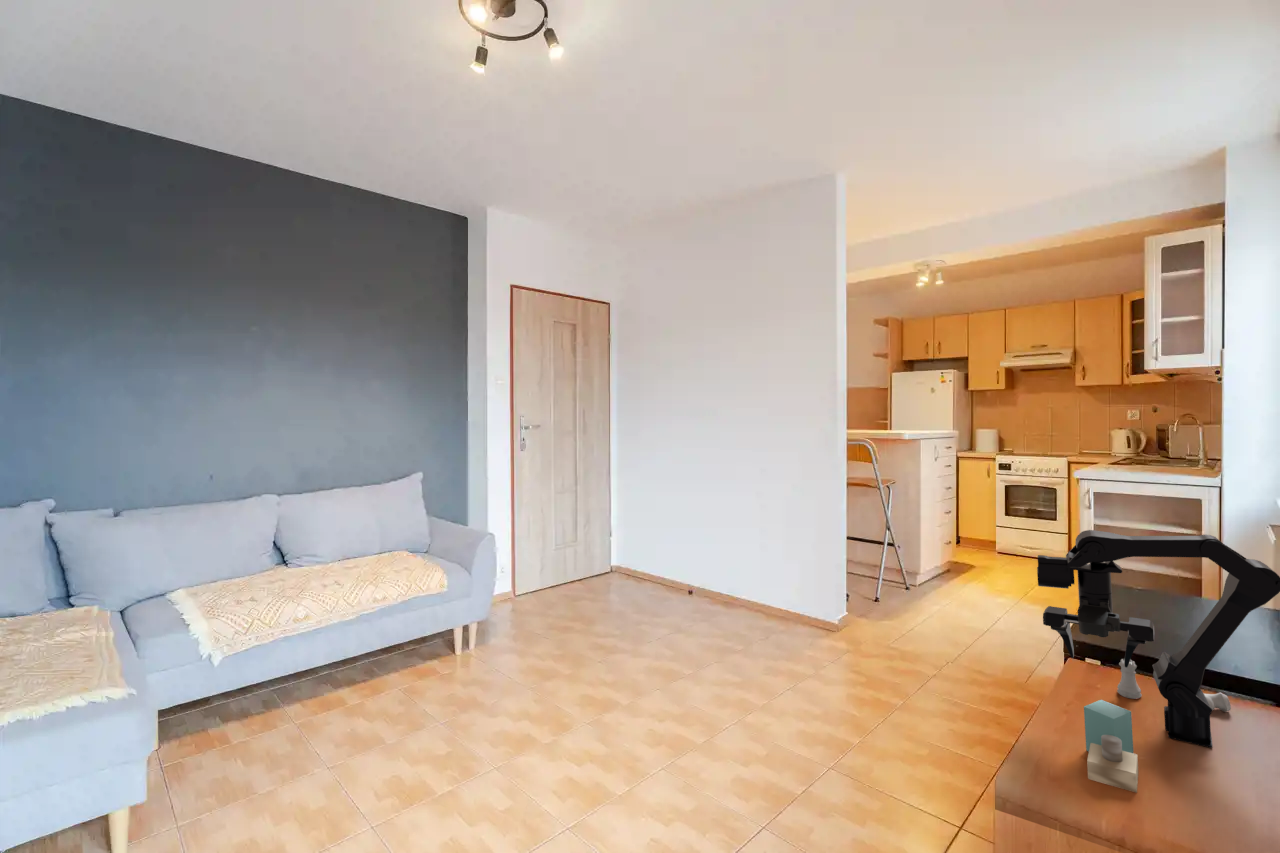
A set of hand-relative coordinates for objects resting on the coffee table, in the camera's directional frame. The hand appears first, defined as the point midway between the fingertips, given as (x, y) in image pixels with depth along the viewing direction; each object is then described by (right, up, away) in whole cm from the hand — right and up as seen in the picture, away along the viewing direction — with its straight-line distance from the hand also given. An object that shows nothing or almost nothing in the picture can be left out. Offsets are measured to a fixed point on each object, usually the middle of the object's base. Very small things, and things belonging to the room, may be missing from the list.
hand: (1098, 661), depth 129 cm
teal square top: (-6, -14, -11) cm, 19 cm away
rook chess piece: (+15, -12, +10) cm, 21 cm away
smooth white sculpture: (+25, -11, +2) cm, 27 cm away
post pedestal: (-11, -15, -17) cm, 25 cm away
